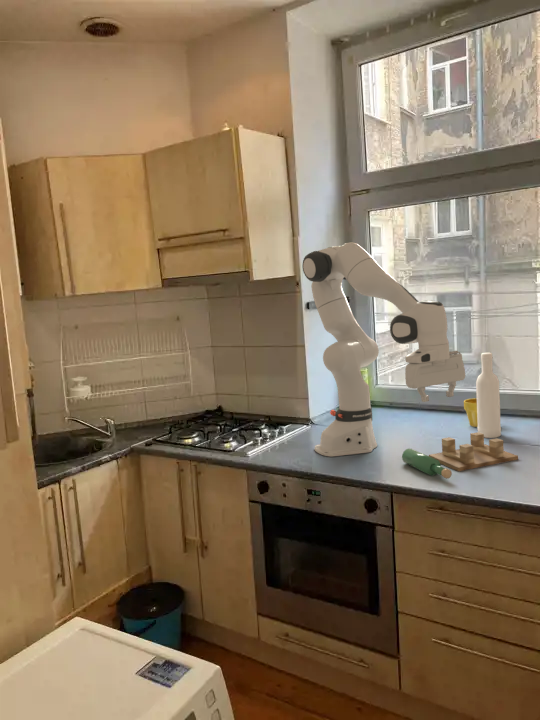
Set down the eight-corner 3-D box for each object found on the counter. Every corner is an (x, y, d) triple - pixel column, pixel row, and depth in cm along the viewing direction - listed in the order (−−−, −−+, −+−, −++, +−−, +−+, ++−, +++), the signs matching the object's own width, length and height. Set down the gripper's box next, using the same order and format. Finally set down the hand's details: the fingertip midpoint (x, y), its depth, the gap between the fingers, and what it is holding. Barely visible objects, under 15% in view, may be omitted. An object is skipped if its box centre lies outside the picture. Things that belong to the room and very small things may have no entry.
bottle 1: (405, 466, 198) (399, 453, 197) (417, 458, 199) (412, 445, 198) (444, 485, 178) (437, 471, 177) (457, 476, 179) (451, 462, 178)
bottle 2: (502, 437, 218) (500, 354, 215) (479, 438, 220) (476, 355, 216) (499, 432, 226) (496, 351, 222) (476, 432, 228) (473, 352, 224)
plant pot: (470, 421, 245) (469, 397, 244) (496, 423, 239) (496, 398, 238) (460, 427, 238) (459, 402, 236) (487, 429, 231) (486, 404, 230)
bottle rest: (458, 471, 187) (457, 450, 186) (428, 458, 202) (428, 439, 201) (518, 459, 193) (517, 439, 193) (485, 447, 208) (484, 429, 208)
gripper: (454, 349, 193) (457, 393, 194) (400, 357, 185) (404, 403, 186) (468, 349, 188) (471, 394, 189) (413, 358, 179) (417, 405, 180)
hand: (437, 399), depth 187 cm, fingers open, 8 cm apart
